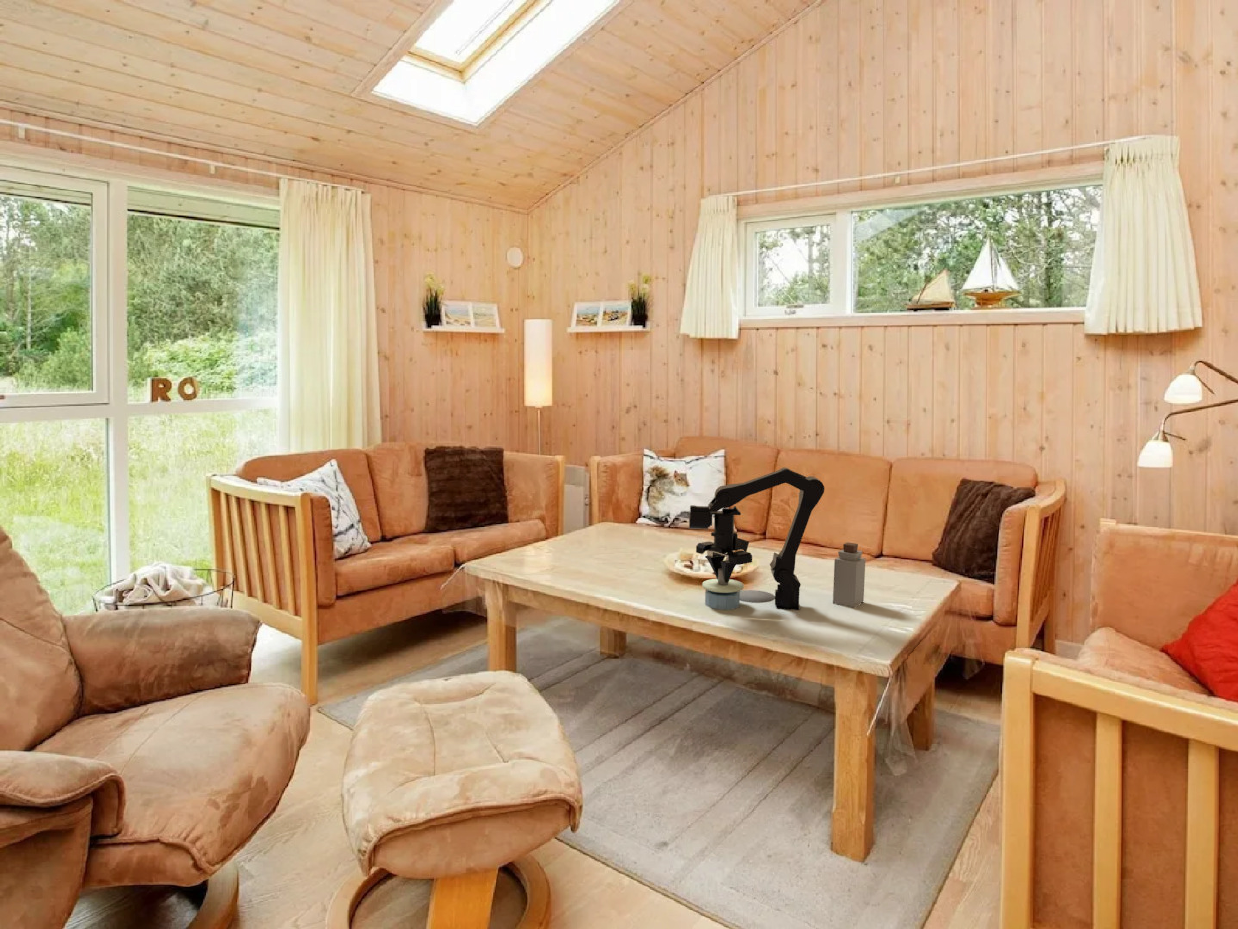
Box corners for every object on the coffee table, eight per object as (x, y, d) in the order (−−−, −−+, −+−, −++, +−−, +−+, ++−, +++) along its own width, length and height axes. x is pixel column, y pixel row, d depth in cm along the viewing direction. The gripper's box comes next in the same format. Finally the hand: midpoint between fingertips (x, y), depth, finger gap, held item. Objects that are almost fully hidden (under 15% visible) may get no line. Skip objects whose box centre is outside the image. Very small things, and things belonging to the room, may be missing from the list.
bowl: (739, 601, 232) (740, 587, 232) (739, 611, 222) (739, 597, 222) (706, 599, 234) (706, 585, 233) (704, 609, 224) (704, 595, 223)
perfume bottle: (842, 598, 236) (844, 540, 233) (863, 602, 231) (866, 543, 229) (832, 603, 231) (835, 544, 228) (854, 607, 226) (857, 547, 224)
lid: (743, 582, 232) (744, 565, 231) (742, 593, 220) (743, 575, 220) (704, 580, 234) (704, 563, 234) (700, 591, 223) (701, 573, 222)
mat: (774, 592, 241) (775, 591, 241) (775, 604, 229) (775, 603, 229) (733, 590, 244) (733, 589, 244) (731, 602, 231) (731, 601, 231)
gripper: (766, 531, 222) (765, 584, 224) (723, 521, 237) (722, 570, 239) (738, 536, 216) (737, 590, 218) (695, 525, 231) (694, 575, 233)
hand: (723, 581), depth 227 cm, fingers closed on lid, 3 cm apart
